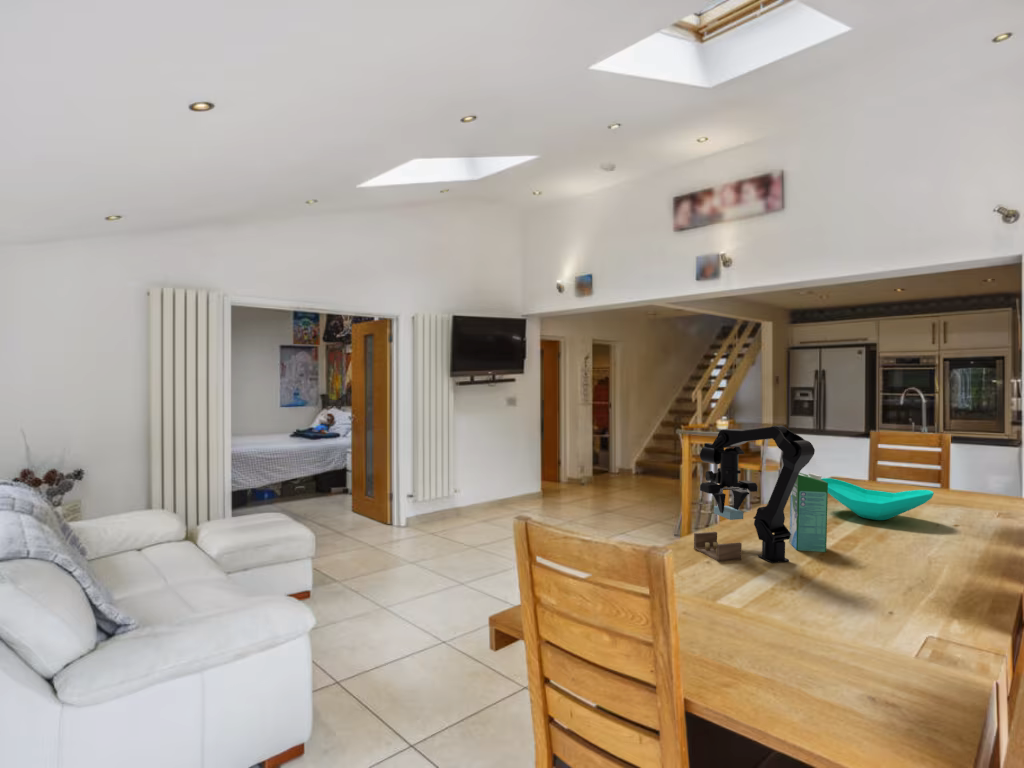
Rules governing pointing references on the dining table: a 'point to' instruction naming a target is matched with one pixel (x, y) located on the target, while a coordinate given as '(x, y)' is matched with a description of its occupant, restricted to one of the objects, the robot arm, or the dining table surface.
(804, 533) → the milk carton
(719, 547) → the cradle
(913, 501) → the table top decor
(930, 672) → the dining table surface
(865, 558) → the dining table surface
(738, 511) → the block
